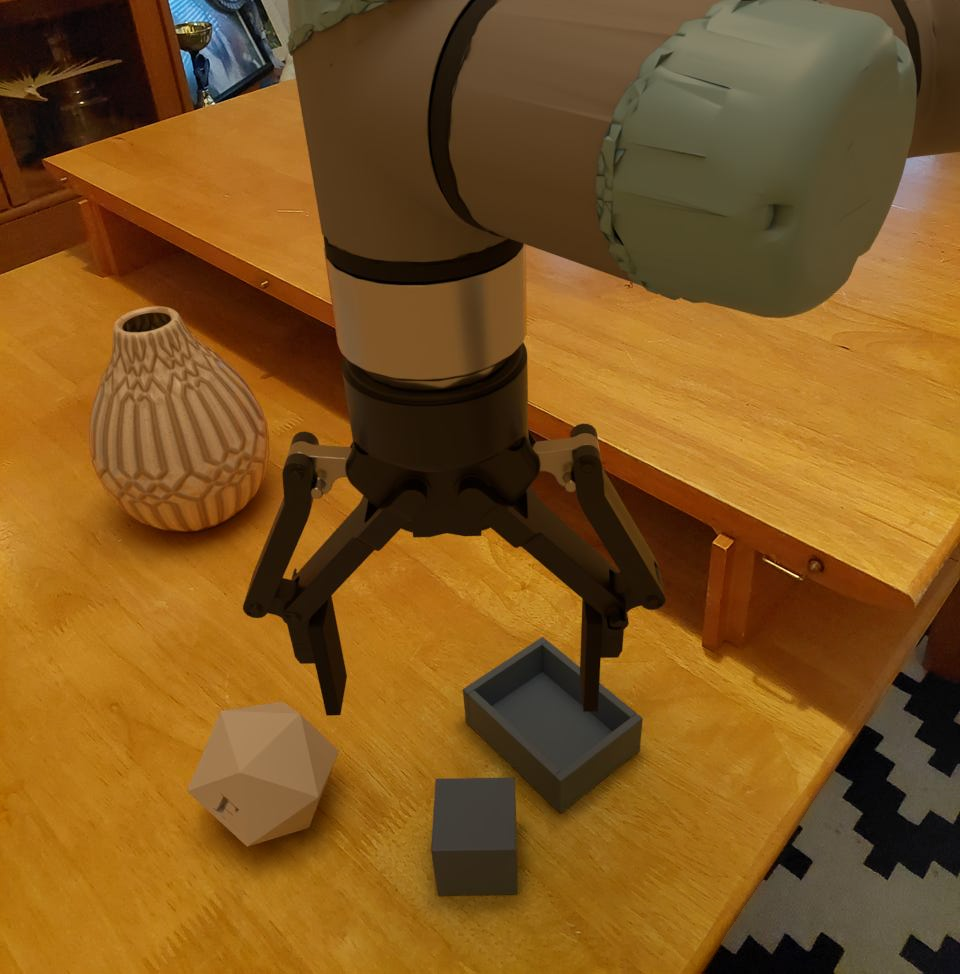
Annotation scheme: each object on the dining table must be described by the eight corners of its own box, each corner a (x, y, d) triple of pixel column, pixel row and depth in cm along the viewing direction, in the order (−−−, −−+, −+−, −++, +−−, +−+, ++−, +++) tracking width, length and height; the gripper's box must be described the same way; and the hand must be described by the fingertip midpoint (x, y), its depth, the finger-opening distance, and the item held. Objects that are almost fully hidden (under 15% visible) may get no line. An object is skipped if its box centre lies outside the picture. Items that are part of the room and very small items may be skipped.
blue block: (516, 822, 61) (514, 777, 58) (517, 895, 57) (516, 849, 54) (441, 823, 61) (435, 778, 58) (437, 895, 57) (431, 851, 54)
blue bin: (640, 750, 65) (643, 717, 63) (560, 814, 62) (560, 781, 59) (542, 668, 72) (542, 636, 70) (465, 721, 68) (462, 688, 66)
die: (202, 781, 66) (140, 787, 56) (284, 679, 67) (237, 668, 58) (290, 861, 64) (241, 882, 54) (373, 755, 65) (339, 757, 56)
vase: (246, 564, 83) (194, 370, 71) (84, 551, 86) (8, 361, 74) (303, 462, 96) (267, 282, 84) (160, 452, 98) (105, 277, 86)
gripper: (729, 292, 40) (683, 638, 52) (154, 311, 41) (248, 646, 53) (770, 383, 34) (707, 748, 46) (95, 403, 35) (217, 754, 47)
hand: (462, 694), depth 50 cm, fingers open, 13 cm apart
